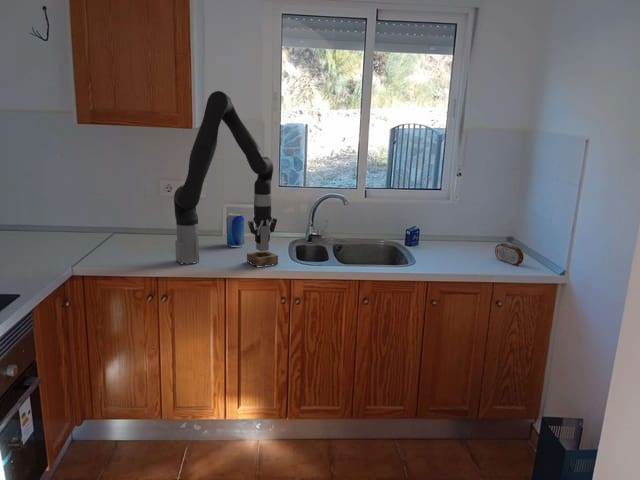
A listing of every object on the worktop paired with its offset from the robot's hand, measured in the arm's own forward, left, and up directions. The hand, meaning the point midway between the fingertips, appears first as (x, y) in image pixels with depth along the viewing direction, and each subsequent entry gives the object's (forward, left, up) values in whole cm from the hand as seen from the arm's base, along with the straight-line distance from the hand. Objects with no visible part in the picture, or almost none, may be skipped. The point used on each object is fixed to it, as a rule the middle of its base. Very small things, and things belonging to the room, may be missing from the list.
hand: (262, 242), depth 236 cm
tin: (+100, -55, -10) cm, 114 cm away
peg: (0, 0, -3) cm, 3 cm away
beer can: (+3, +32, -10) cm, 33 cm away
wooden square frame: (0, 0, -10) cm, 10 cm away
